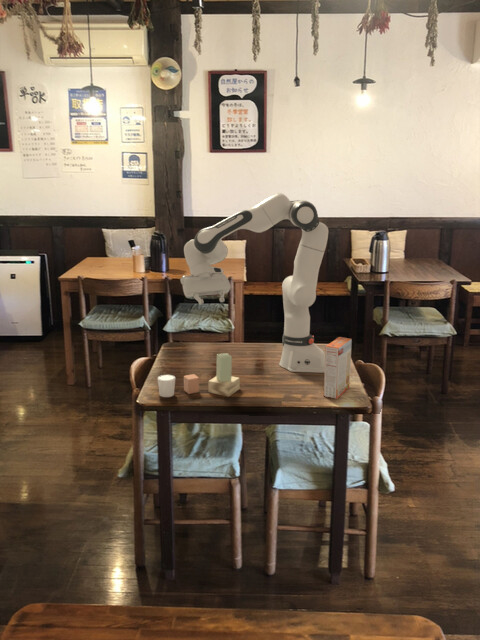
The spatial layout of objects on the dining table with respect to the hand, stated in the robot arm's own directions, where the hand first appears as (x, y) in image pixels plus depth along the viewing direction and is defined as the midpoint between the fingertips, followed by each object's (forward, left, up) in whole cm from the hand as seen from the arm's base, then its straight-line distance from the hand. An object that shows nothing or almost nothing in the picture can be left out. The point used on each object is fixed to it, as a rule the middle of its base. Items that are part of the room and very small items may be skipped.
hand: (212, 302), depth 252 cm
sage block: (-10, +16, -27) cm, 32 cm away
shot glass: (+10, +26, -32) cm, 42 cm away
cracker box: (-53, +5, -32) cm, 62 cm away
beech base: (-10, +15, -32) cm, 37 cm away
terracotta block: (+2, +20, -31) cm, 37 cm away
